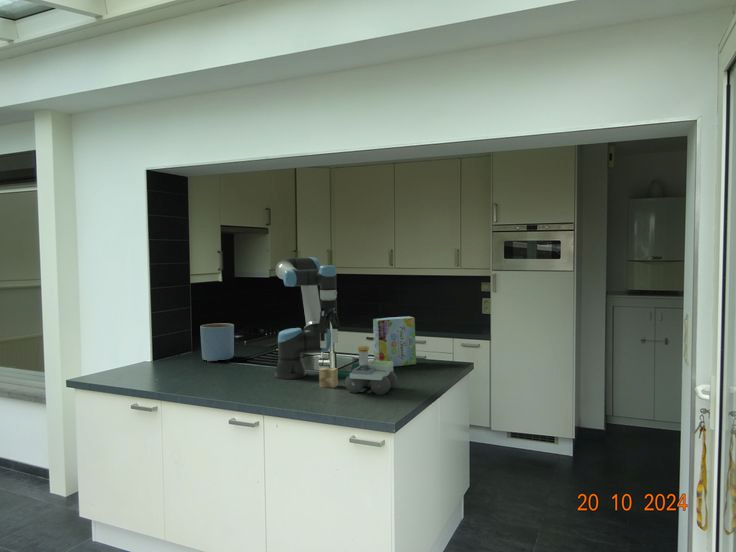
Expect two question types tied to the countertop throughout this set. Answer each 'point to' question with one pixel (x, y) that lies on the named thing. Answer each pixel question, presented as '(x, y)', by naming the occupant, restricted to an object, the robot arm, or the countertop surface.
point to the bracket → (346, 373)
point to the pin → (363, 358)
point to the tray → (381, 365)
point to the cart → (363, 378)
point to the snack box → (395, 340)
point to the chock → (328, 377)
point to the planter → (217, 341)
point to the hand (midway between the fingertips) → (329, 345)
